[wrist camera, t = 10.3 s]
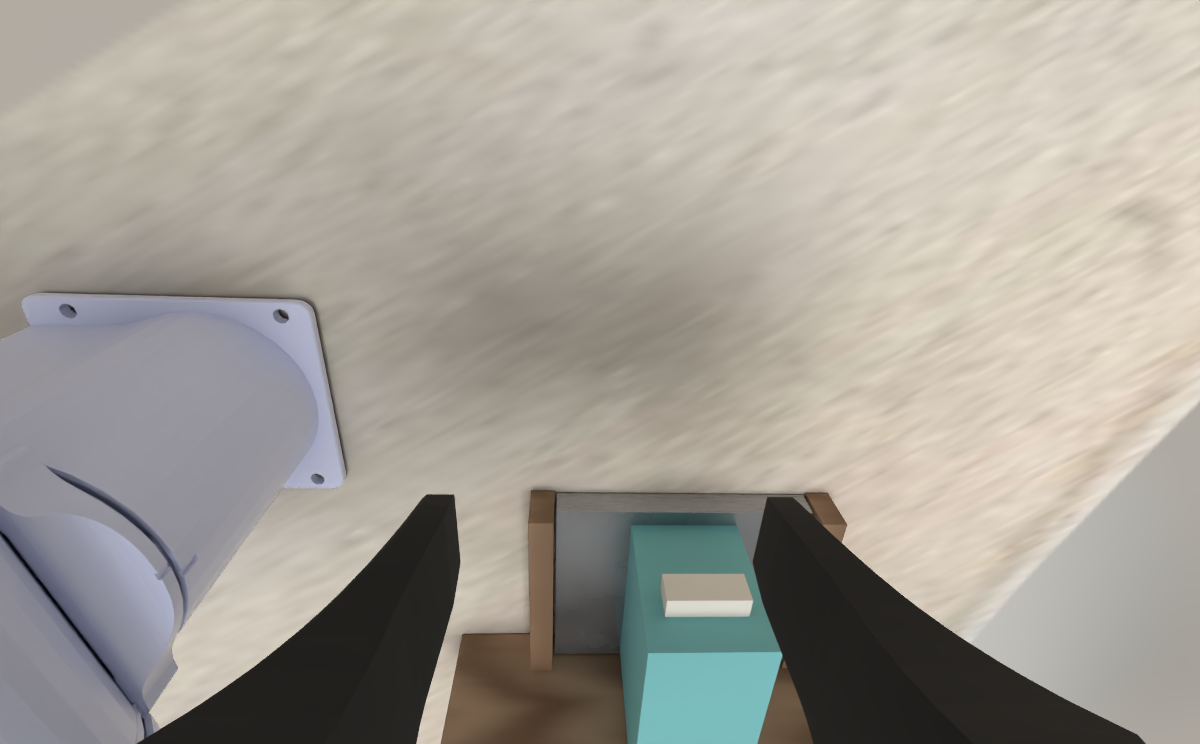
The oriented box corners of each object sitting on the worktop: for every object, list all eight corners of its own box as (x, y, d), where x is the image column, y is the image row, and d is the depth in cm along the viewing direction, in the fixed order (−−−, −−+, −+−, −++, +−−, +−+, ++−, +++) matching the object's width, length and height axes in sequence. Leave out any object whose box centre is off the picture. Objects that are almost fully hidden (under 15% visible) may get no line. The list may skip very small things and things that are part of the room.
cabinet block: (620, 652, 27) (631, 789, 22) (632, 510, 24) (650, 636, 18) (711, 651, 28) (744, 786, 22) (739, 511, 24) (788, 635, 18)
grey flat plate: (555, 632, 28) (554, 654, 27) (557, 493, 24) (556, 511, 23) (767, 631, 29) (774, 652, 28) (803, 494, 25) (813, 513, 24)
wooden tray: (464, 654, 29) (440, 784, 24) (448, 490, 24) (413, 606, 19) (847, 651, 30) (906, 774, 25) (904, 493, 25) (993, 604, 20)
